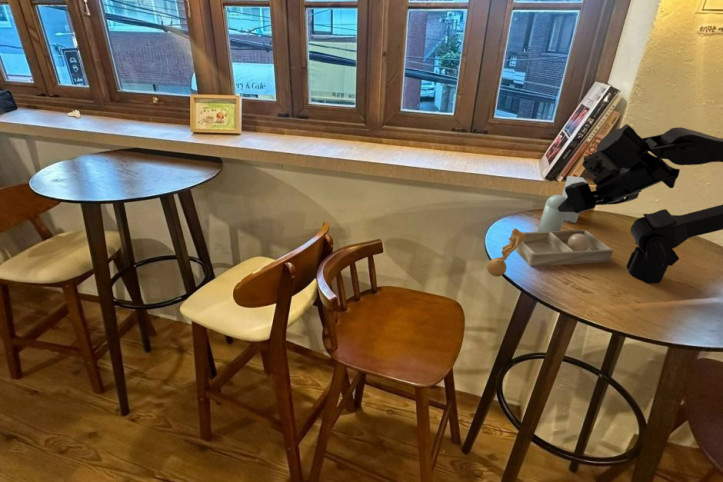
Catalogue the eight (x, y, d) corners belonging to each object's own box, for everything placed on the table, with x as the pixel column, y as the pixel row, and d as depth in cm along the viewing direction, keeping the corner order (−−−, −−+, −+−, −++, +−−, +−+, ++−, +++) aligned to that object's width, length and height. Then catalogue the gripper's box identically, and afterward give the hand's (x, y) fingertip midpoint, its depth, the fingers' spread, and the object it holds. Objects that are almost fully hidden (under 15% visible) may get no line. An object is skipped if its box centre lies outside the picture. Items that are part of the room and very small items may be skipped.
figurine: (488, 263, 93) (499, 216, 87) (515, 269, 91) (528, 222, 85) (483, 282, 86) (494, 233, 80) (512, 289, 84) (526, 239, 78)
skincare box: (576, 225, 112) (589, 185, 106) (559, 223, 113) (572, 183, 107) (570, 216, 117) (583, 177, 111) (555, 214, 118) (567, 175, 112)
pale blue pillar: (562, 241, 104) (575, 199, 98) (543, 242, 103) (556, 200, 97) (550, 231, 108) (563, 191, 102) (533, 232, 107) (544, 191, 102)
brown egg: (590, 255, 96) (596, 239, 94) (572, 256, 95) (578, 239, 93) (578, 246, 100) (583, 229, 98) (561, 247, 99) (566, 230, 97)
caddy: (607, 264, 95) (613, 250, 93) (529, 269, 92) (533, 254, 90) (580, 242, 103) (585, 229, 101) (508, 246, 100) (511, 233, 98)
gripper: (644, 139, 88) (585, 171, 102) (586, 147, 81) (531, 181, 95) (667, 185, 86) (603, 212, 100) (608, 198, 78) (549, 225, 92)
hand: (572, 206), depth 97 cm, fingers open, 9 cm apart
